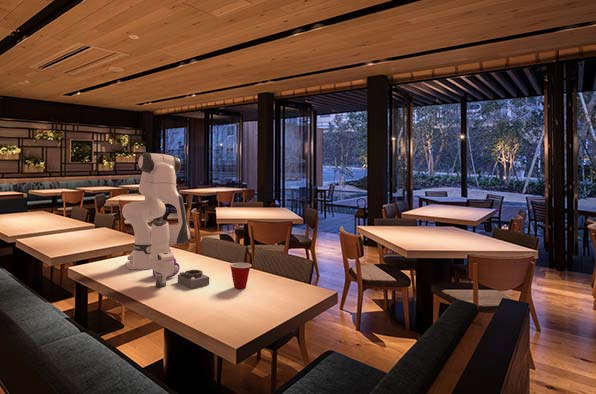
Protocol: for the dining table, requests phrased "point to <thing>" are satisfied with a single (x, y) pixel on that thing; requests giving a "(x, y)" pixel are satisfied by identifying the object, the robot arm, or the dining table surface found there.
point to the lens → (159, 280)
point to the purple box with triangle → (176, 268)
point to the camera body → (193, 279)
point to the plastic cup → (240, 274)
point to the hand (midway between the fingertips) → (160, 280)
